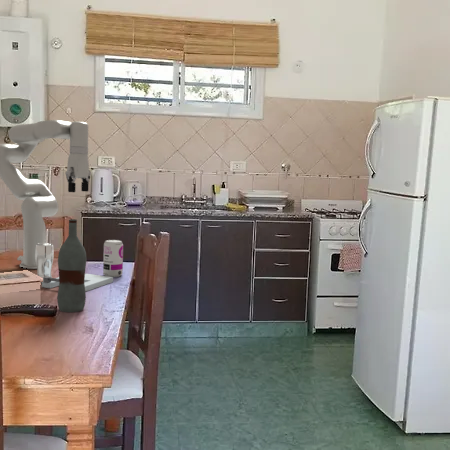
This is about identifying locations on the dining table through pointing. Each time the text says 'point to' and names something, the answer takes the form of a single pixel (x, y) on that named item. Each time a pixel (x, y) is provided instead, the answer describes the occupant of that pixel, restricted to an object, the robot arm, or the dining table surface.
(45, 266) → the beer glass
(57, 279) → the shelf board
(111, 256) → the supplement can
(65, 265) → the bottle
